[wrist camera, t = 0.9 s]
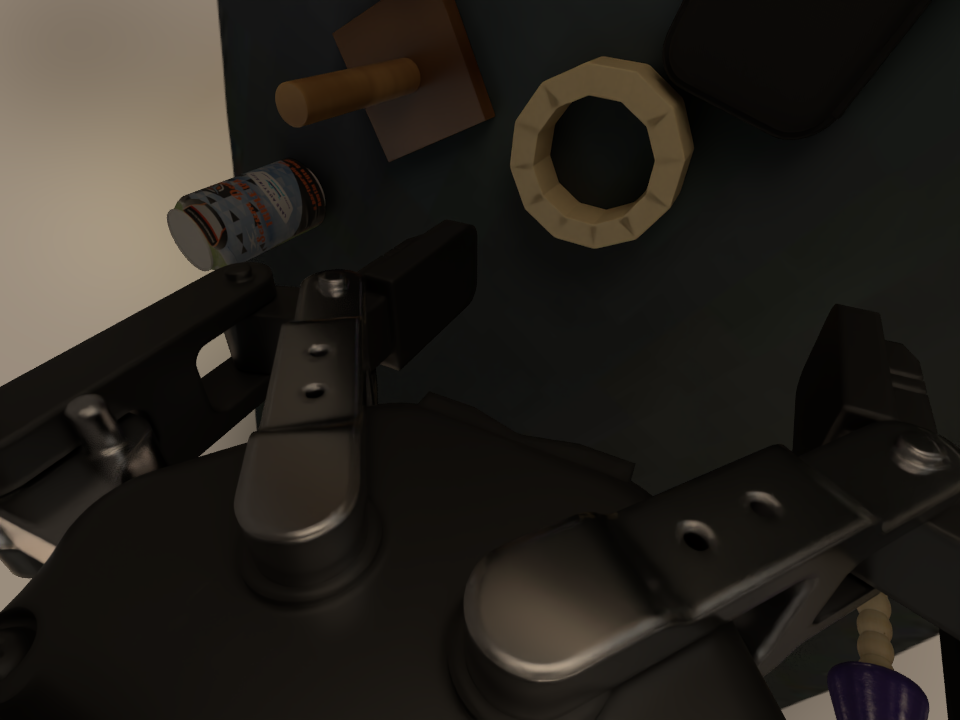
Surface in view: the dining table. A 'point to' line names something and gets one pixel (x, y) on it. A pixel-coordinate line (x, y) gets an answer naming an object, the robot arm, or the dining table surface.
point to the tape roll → (648, 104)
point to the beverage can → (247, 214)
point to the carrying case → (783, 56)
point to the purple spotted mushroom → (875, 674)
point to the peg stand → (397, 77)
